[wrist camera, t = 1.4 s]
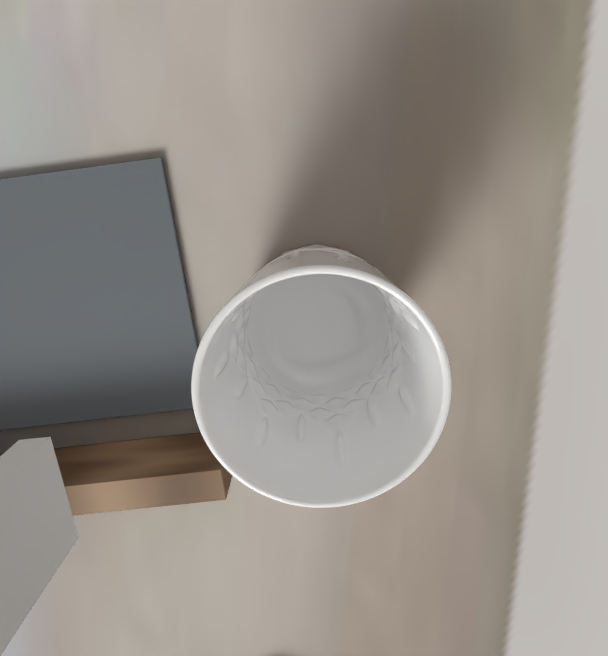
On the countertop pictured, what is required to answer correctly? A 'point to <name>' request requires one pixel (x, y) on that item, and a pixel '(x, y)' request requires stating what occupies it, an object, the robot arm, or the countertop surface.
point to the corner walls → (141, 474)
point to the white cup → (321, 381)
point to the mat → (92, 297)
